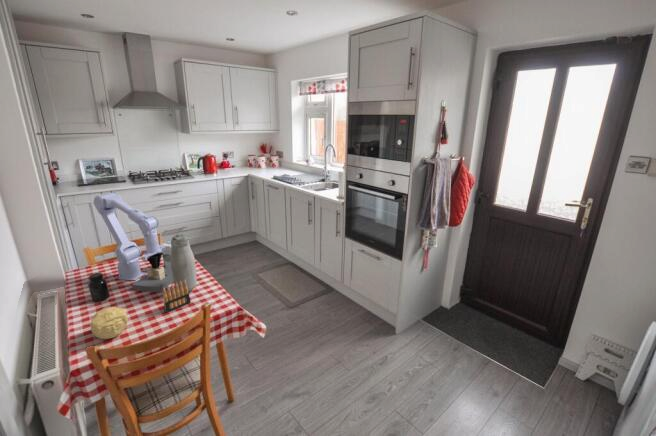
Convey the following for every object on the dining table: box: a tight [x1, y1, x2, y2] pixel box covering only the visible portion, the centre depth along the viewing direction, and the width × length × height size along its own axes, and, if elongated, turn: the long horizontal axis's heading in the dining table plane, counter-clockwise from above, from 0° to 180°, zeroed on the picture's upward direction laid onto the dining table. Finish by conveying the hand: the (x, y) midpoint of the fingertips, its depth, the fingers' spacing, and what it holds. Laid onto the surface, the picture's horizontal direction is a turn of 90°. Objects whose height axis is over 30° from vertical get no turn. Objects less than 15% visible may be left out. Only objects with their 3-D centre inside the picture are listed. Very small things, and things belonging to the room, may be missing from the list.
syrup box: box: [161, 241, 171, 269], centre depth 174 cm, size 6×6×14 cm
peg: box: [147, 266, 165, 280], centre depth 160 cm, size 6×4×7 cm, turn 82°
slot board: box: [131, 268, 174, 293], centre depth 161 cm, size 14×18×3 cm
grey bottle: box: [170, 233, 198, 292], centre depth 150 cm, size 10×10×28 cm
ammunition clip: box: [162, 279, 191, 314], centre depth 139 cm, size 11×2×12 cm, turn 138°
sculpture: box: [89, 306, 129, 340], centre depth 122 cm, size 12×12×11 cm
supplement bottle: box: [87, 272, 111, 303], centre depth 144 cm, size 7×7×12 cm
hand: (156, 267), depth 159 cm, fingers closed
